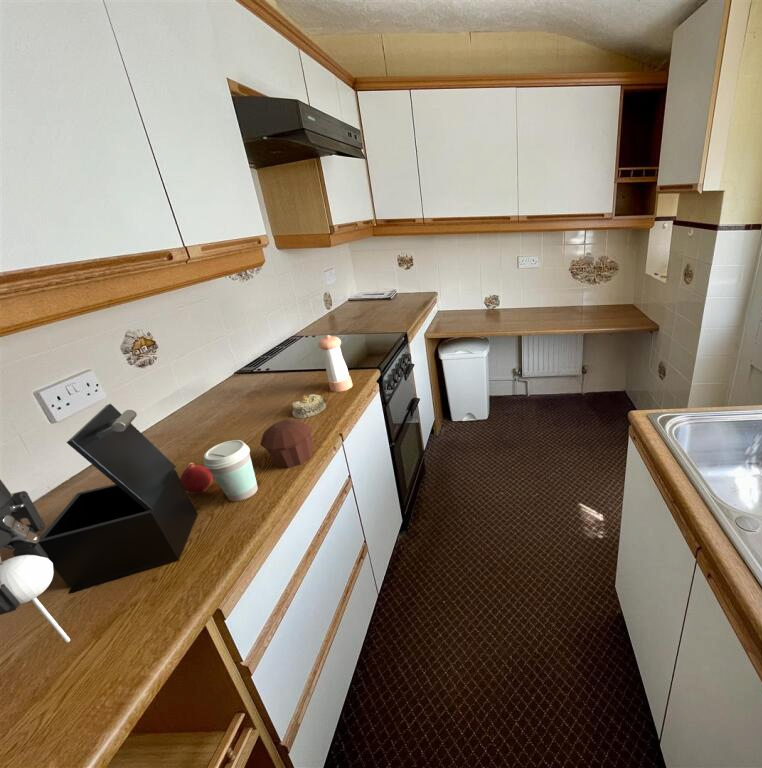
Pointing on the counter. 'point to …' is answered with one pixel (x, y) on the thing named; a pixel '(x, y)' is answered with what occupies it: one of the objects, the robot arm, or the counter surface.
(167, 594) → the counter surface
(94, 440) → the bin lid
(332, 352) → the pepper shaker
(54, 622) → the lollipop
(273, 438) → the muffin
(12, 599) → the robot arm
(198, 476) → the onion
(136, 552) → the bin
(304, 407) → the cake
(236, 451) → the coffee cup
